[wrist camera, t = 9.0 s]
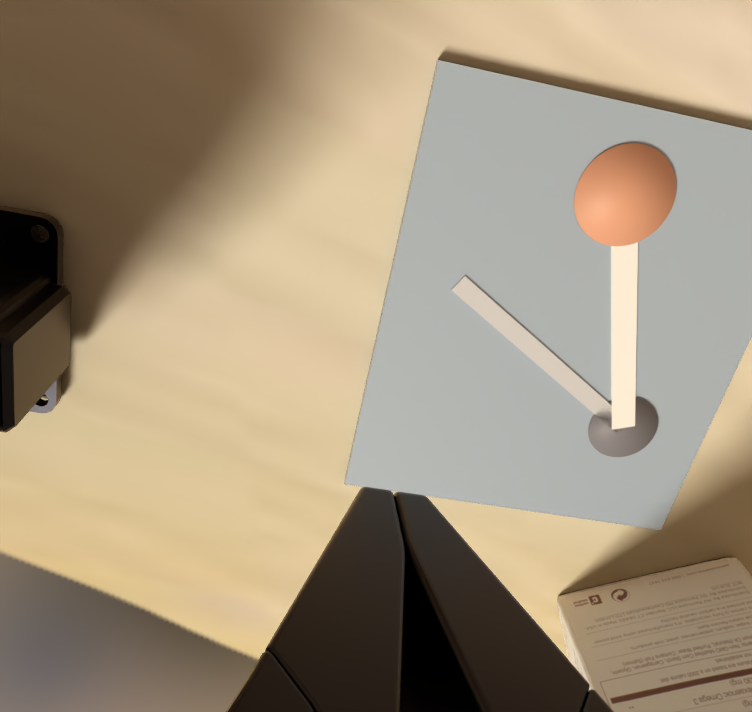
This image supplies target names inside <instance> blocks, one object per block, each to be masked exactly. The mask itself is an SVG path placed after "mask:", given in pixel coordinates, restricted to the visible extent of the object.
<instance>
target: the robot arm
mask: <svg viewBox="0 0 752 712" xmlns="http://www.w3.org/2000/svg"><path fill="white" fill-rule="evenodd" d="M37 225H41V226H43V227H45V228H46V229H47V231H48V233H49V238H48V239H44V238H42V237H40V235H39V234H38V233H37V230H36V228H37ZM62 282H63V231H62V227H61V225H60V223H59V222H58V221H57V220H56V219H55V218H54V217H53V216H50V215H47V214H44V213H39V212H33V211H28V210H22V209H17V208H11V207H6V206H0V432H8V431H9V430H11V429H12V428H14V427H15V426H17V424H18V423H19V422H20V421H21V420H22V419H23V417H24V416H25V415H26V414H27V413H28V412H29V411H31V412H38V413H47V412H50V411H52V410H53V409H54V407H55V406H56V405H57V404H58V403H59V401H60V398H61V374H62V373H63V372H64V370H65V369H66V368H67V367H68V366H69V364H70V330H71V293H70V292H69V290H68V289H67V288H66V286H65V285H62ZM44 394H45V395H46V396H47V397H48V400H46V401H45V400H43V399H41V397H42V396H43V395H44ZM589 688H590V685H589V683H588V682H587V681H586V679H585V678H584V677H583V676H582V675H581V674H580V673H579V671H578V670H577V669H576V668H575V667H574V666H573V664H572V663H571V662H570V661H569V660H568V659H567V658H566V656H565V655H564V654H563V653H562V652H561V651H560V650H559V648H558V647H557V646H556V645H555V644H554V643H553V642H552V640H551V639H550V638H549V637H548V636H547V635H546V633H545V632H544V631H543V630H542V629H541V628H540V627H539V625H538V624H537V623H536V622H535V621H534V620H533V619H532V617H531V616H530V615H529V614H528V613H527V612H526V610H525V609H524V608H523V607H522V606H521V605H520V604H519V602H518V601H517V600H516V599H515V598H514V597H513V596H512V594H511V593H510V592H509V591H508V590H507V589H506V587H505V586H504V585H503V584H502V583H501V582H500V581H499V579H498V578H497V577H496V576H495V575H494V574H493V573H492V571H491V570H490V569H489V568H488V567H487V566H486V564H485V563H484V562H483V561H482V560H481V559H480V558H479V556H478V555H477V554H476V553H475V552H474V551H473V550H472V548H471V547H470V546H469V545H468V544H467V543H466V541H465V540H464V539H463V538H462V537H461V536H460V535H459V533H458V532H457V531H456V530H455V529H454V528H453V527H452V525H451V524H450V523H449V522H448V521H447V520H446V519H445V517H444V516H443V515H442V514H441V513H440V512H439V510H438V509H437V508H436V507H435V506H434V505H433V504H432V502H431V501H430V500H429V499H428V498H427V497H426V496H424V495H419V494H412V493H405V492H396V493H395V494H394V495H393V493H392V492H391V491H389V490H385V489H378V488H371V487H363V488H361V489H360V491H359V492H358V494H357V496H356V497H355V499H354V501H353V502H352V504H351V506H350V508H349V509H348V511H347V513H346V514H345V516H344V518H343V519H342V521H341V523H340V524H339V526H338V528H337V529H336V531H335V533H334V535H333V536H332V538H331V540H330V541H329V543H328V545H327V546H326V548H325V550H324V551H323V553H322V555H321V556H320V558H319V560H318V562H317V563H316V565H315V567H314V568H313V570H312V572H311V573H310V575H309V577H308V578H307V580H306V582H305V583H304V585H303V587H302V589H301V590H300V592H299V594H298V595H297V597H296V599H295V600H294V602H293V604H292V605H291V607H290V609H289V610H288V612H287V614H286V616H285V617H284V619H283V621H282V622H281V624H280V626H279V627H278V629H277V631H276V632H275V634H274V636H273V637H272V639H271V641H270V643H269V644H268V646H267V648H266V650H265V652H264V653H263V654H262V655H261V657H260V659H259V660H258V662H257V664H256V665H255V667H254V669H253V671H252V672H251V674H250V675H249V677H248V679H247V680H246V682H245V684H244V685H243V686H242V688H241V689H240V691H239V693H238V694H237V696H236V697H235V699H234V700H233V702H232V703H231V705H230V706H229V708H228V710H227V711H226V712H614V711H613V710H612V709H611V708H610V707H609V705H608V704H607V703H606V702H605V701H604V700H603V699H602V697H601V696H600V695H599V694H598V693H597V692H596V691H595V690H593V689H591V690H589Z"/></svg>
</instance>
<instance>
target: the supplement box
mask: <svg viewBox="0 0 752 712" xmlns="http://www.w3.org/2000/svg"><path fill="white" fill-rule="evenodd" d="M557 603H558V609H559V615H560V621H561V626H562V631H563V636H564V641H565V646H566V651H567V655H568V660H569V661H570V662H571V663H572V664H573V666H574V667H575V668H576V669H577V670H578V671H579V673H580V674H581V675H582V676H583V677H584V678H585V679H586V681H587V682H588V683H589V685H590V688H589V690H591V689H593V690H595V691H596V692H597V693H598V694H599V695H600V696H601V697H602V699H603V700H604V701H605V702H606V703H607V704H608V705H609V707H610V708H611V709H612V710H613V711H614V712H752V576H751V575H750V573H749V572H748V571H747V570H746V568H745V567H744V566H743V565H742V563H741V562H740V561H739V560H738V559H737V558H736V557H733V558H722V559H719V560H713V561H708V562H703V563H698V564H694V565H690V566H686V567H681V568H676V569H672V570H668V571H663V572H659V573H654V574H650V575H645V576H641V577H636V578H632V579H628V580H624V581H619V582H614V583H610V584H606V585H602V586H597V587H593V588H589V589H585V590H580V591H576V592H572V593H568V594H564V595H561V596H559V597H558V598H557Z"/></svg>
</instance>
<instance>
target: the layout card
mask: <svg viewBox="0 0 752 712" xmlns="http://www.w3.org/2000/svg"><path fill="white" fill-rule="evenodd" d="M751 337H752V130H749V129H744V128H740V127H735V126H731V125H727V124H722V123H718V122H713V121H709V120H704V119H700V118H695V117H691V116H686V115H682V114H677V113H673V112H669V111H664V110H660V109H655V108H651V107H646V106H642V105H637V104H633V103H628V102H624V101H619V100H615V99H611V98H606V97H602V96H597V95H593V94H588V93H584V92H579V91H575V90H570V89H566V88H561V87H557V86H553V85H548V84H544V83H539V82H535V81H530V80H526V79H521V78H517V77H512V76H508V75H503V74H499V73H495V72H490V71H486V70H481V69H477V68H472V67H468V66H463V65H459V64H454V63H450V62H445V61H441V60H437V64H436V69H435V73H434V78H433V82H432V87H431V91H430V96H429V100H428V105H427V109H426V114H425V118H424V123H423V127H422V132H421V137H420V141H419V146H418V150H417V155H416V159H415V164H414V168H413V173H412V177H411V182H410V186H409V191H408V196H407V200H406V205H405V209H404V214H403V218H402V223H401V227H400V232H399V236H398V241H397V245H396V250H395V254H394V259H393V264H392V268H391V273H390V277H389V282H388V286H387V291H386V295H385V300H384V304H383V309H382V313H381V318H380V322H379V327H378V332H377V336H376V341H375V345H374V350H373V354H372V359H371V363H370V368H369V372H368V377H367V381H366V386H365V390H364V395H363V400H362V404H361V409H360V413H359V418H358V422H357V427H356V431H355V436H354V440H353V445H352V449H351V454H350V459H349V463H348V468H347V472H346V477H345V484H347V485H354V486H361V487H371V488H378V489H385V490H389V491H395V492H405V493H412V494H419V495H424V496H430V497H436V498H443V499H450V500H457V501H464V502H471V503H478V504H485V505H491V506H498V507H505V508H512V509H519V510H526V511H533V512H540V513H547V514H553V515H560V516H567V517H574V518H581V519H588V520H595V521H602V522H608V523H615V524H622V525H629V526H636V527H643V528H650V529H657V530H661V528H662V526H663V524H664V522H665V520H666V518H667V516H668V513H669V511H670V509H671V507H672V505H673V503H674V501H675V499H676V496H677V494H678V492H679V490H680V488H681V486H682V484H683V481H684V479H685V477H686V475H687V473H688V471H689V469H690V467H691V464H692V462H693V460H694V458H695V456H696V454H697V452H698V450H699V447H700V445H701V443H702V441H703V439H704V437H705V435H706V432H707V430H708V428H709V426H710V424H711V422H712V420H713V418H714V415H715V413H716V411H717V409H718V407H719V405H720V403H721V400H722V398H723V396H724V394H725V392H726V390H727V388H728V386H729V383H730V381H731V379H732V377H733V375H734V373H735V371H736V369H737V366H738V364H739V362H740V360H741V358H742V356H743V354H744V351H745V349H746V347H747V345H748V343H749V341H750V339H751Z"/></svg>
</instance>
